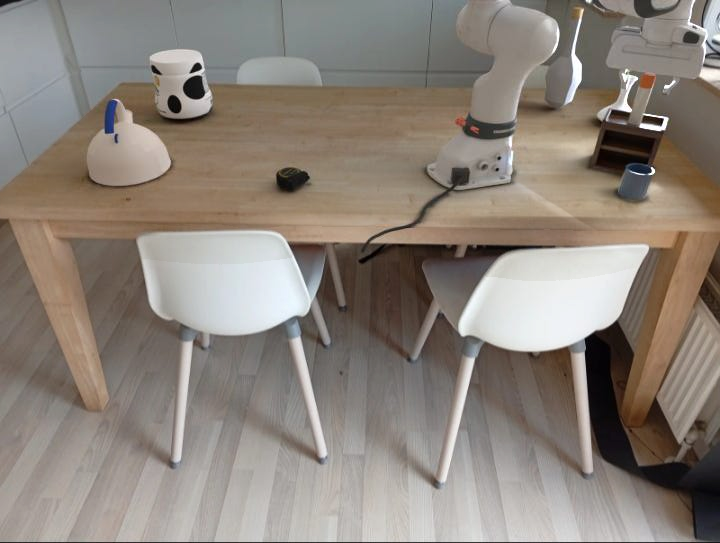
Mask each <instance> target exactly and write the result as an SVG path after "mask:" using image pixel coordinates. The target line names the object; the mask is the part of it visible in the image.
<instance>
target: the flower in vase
mask: <svg viewBox="0 0 720 543" xmlns="http://www.w3.org/2000/svg"><path fill="white" fill-rule="evenodd" d="M630 72H632V70H627V72H626V73H627V74H625V78H626V80H629V83H628V86H627V89H623V88H620V92H619V95H618V98H617V100H616V101H615V102H614V103H612V104H610V105H608V106H605V107H604V108H602V109H601V110H599V112H597V115H596V117H597V119H598V120H599V121H600V122H602V121H603V118H604V116H605V115H606V113H607V111H608V109H609V108H612V109H618V110H624V111H630V112H631V110H632V108H631V107H630V106H629V104H628V101H627V100H628V97H629V96H628V95H629V93H630V90H631V88H632V86H633V85H634V83H636V81H638V79H639V78H638V77H637V76H636V75H633V74H632V75H631V74H630ZM619 79H620V83H621V82H622V81H621V78H620V77H619Z"/></svg>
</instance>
